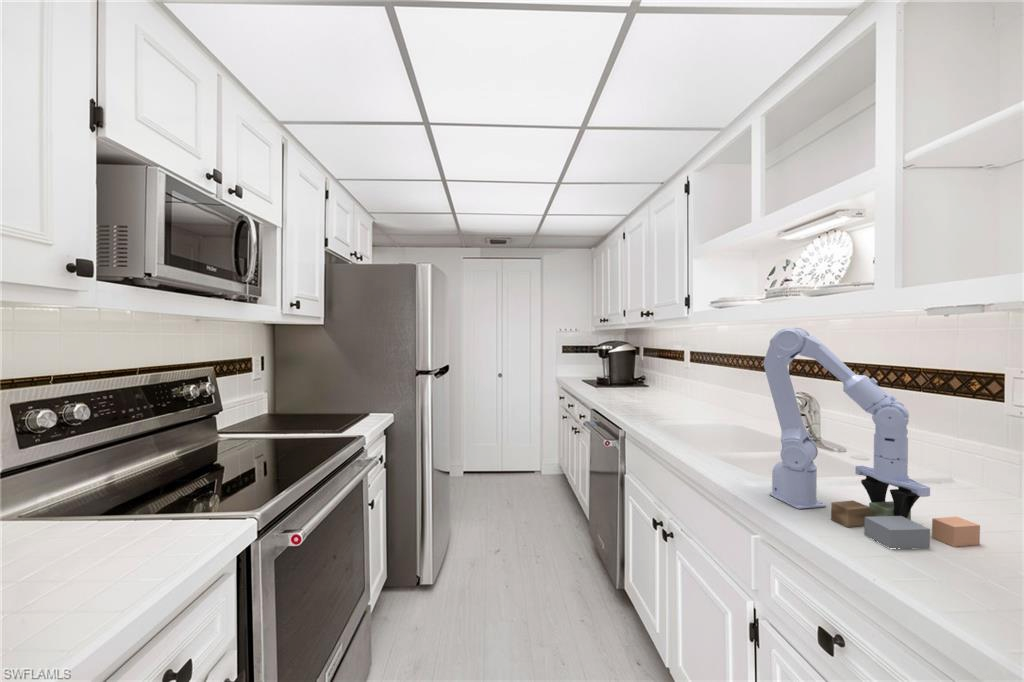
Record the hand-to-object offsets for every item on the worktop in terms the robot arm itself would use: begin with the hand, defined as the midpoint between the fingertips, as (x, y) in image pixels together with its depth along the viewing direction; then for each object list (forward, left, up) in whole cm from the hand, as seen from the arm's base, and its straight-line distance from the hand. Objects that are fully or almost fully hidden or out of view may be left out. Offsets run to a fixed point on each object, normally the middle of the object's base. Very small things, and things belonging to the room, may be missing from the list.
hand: (889, 516), depth 95 cm
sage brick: (0, 0, -2) cm, 2 cm away
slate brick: (+7, -7, -2) cm, 10 cm away
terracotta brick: (+9, +5, -2) cm, 10 cm away
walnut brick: (-2, -8, -2) cm, 8 cm away
